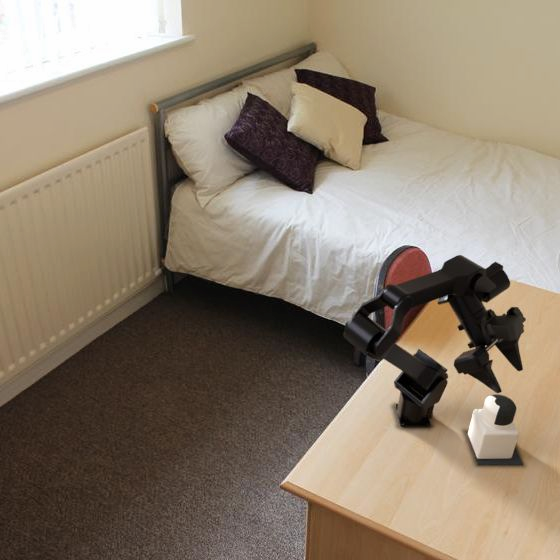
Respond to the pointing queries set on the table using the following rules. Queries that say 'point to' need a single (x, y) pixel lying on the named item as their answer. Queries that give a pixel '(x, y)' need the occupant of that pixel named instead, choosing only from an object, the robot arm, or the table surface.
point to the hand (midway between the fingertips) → (510, 381)
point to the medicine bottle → (494, 428)
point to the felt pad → (508, 461)
